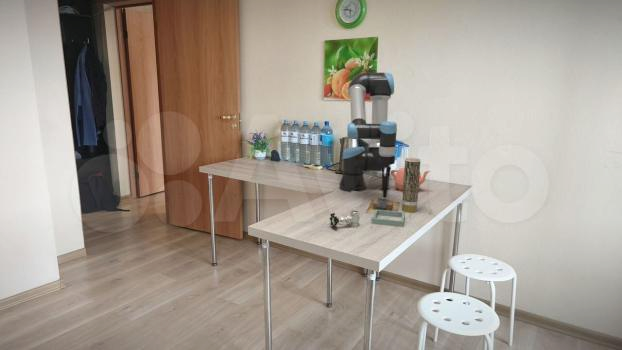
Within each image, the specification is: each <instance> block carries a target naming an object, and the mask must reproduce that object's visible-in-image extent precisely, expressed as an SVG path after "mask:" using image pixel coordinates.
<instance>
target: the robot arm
mask: <svg viewBox="0 0 622 350" xmlns="http://www.w3.org/2000/svg"><path fill="white" fill-rule="evenodd" d="M347 88H348V89H347V91H348V96H349V97H350V98H349V99H350V101H349V103H350V123H348V124H347V128H346V130H347V138H348V139H352V140H353V139H354V140H370V144H369V145H368V146H367V147H368V148H367V149H365V147H364V146H353V147H348V148H345V149H344V151H343V155H342V175H341V179H340V182H339V187H338V188H339V189H340V190H342V191H345V192H364V191H365V190H366V189H367V183H366V181H365V177H364V172H366V171H368V172H381V188H380V191H381V199H387V200H388V199H389V196H388V195H389V190H390V189H391V188H389V186H390V185H389V184H390V175H391V170H392V166H391V165H394V164H395V162H396V156H395V155H396V151H397V150H398V149H397V148H396V147H397V146H396V145H397V132H398V128H397V126H398V125H397V122H395V121H394V122H393V121H388V110H389V109H388V108H389V107H388V106H389V100H390V99H391V98H392V96H393V95H394V93H395V81H394V76H393V75H392V73H390V72H384V71H383V72H361V73H358V74H357V75H355V76H354V77H353V78H352V79H351V81H350V82H349V85H348V87H347ZM366 95H369V98H370V100H371V103H372V104H371V123H367V114H366V99H365V97H366Z"/></svg>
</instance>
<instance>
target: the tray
mask: <svg viewBox="0 0 622 350" xmlns="http://www.w3.org/2000/svg"><path fill="white" fill-rule="evenodd" d="M378 216H381V217H382V216H384V217H393V218H400V220H397V219H387V218H379V217H378ZM405 216H406V212H404V211H398V212H397V211H386V210H376V209H375V212H374V214H372V216H371V220H370V222H371V225H372V224H373V225H383V226H389V227H390V226H392V227H401V228H402V227H404V222H405V218H406V217H405ZM377 217H378V218H377Z"/></svg>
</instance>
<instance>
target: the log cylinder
mask: <svg viewBox="0 0 622 350" xmlns="http://www.w3.org/2000/svg"><path fill="white" fill-rule="evenodd" d="M403 168H404V184H403V191H402V200H401V201H402V203H401V212H405V213H410V214H413V213H416V212H418V211H417V210H418V209H417V208H418V200H419V189H418V187H419V174H421V159H420V158H415V157H414V158H413V157H408V158H405V159H404V167H403ZM419 188H420V187H419Z"/></svg>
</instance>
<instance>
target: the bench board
mask: <svg viewBox="0 0 622 350" xmlns="http://www.w3.org/2000/svg"><path fill="white" fill-rule="evenodd" d="M373 201H374V199H371V201H370V203H369V204H368V207H367V209H366V211H365V214H372V215H373V214H374V212H375V210H374V209H372V207H373ZM400 204H401V202H399V201H393V209H392V211H397V212H399V208H400Z"/></svg>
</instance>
